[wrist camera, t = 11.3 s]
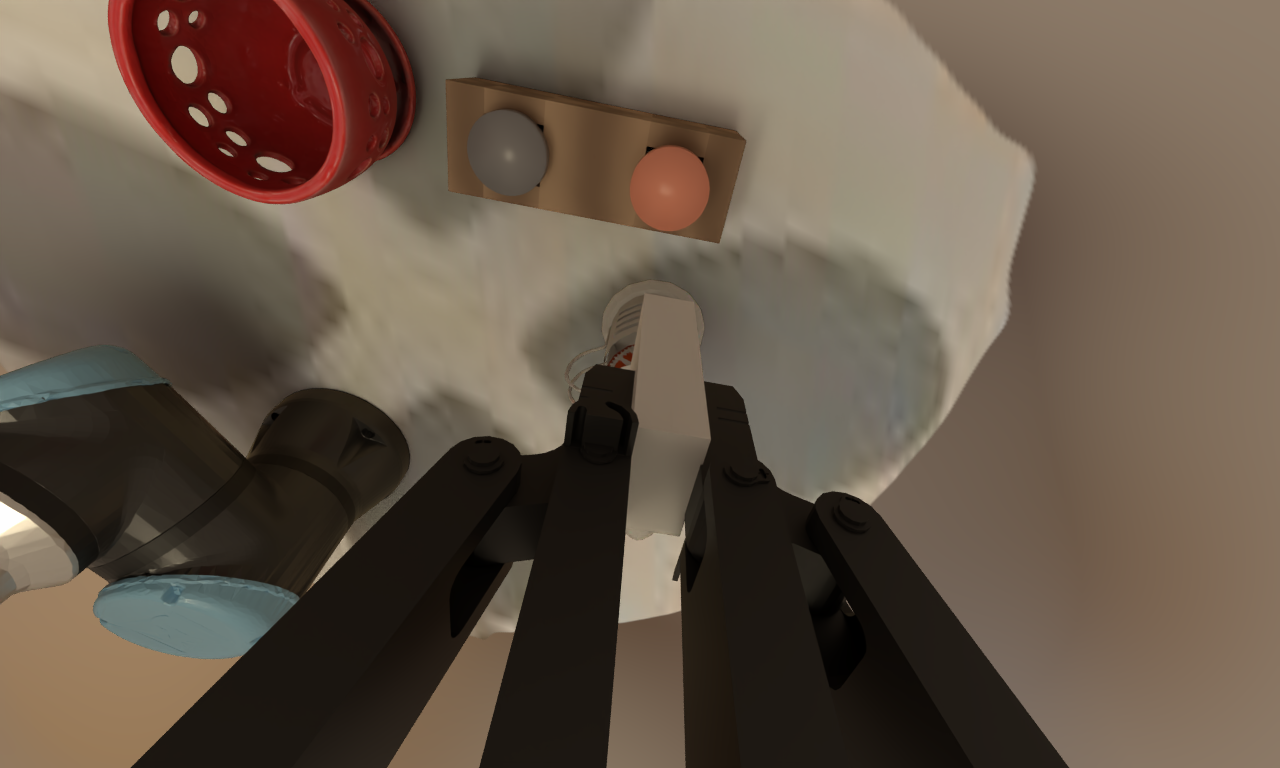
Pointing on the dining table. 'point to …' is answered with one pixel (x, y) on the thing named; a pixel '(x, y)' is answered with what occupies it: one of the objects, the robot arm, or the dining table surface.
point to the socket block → (591, 153)
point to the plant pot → (270, 88)
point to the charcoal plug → (508, 152)
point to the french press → (630, 334)
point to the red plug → (669, 188)
